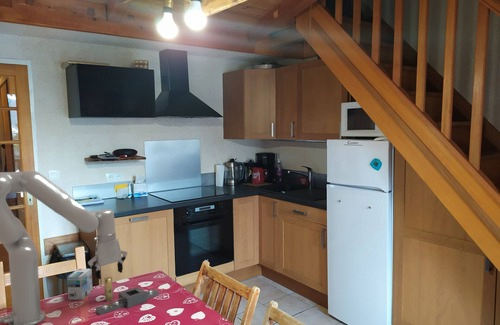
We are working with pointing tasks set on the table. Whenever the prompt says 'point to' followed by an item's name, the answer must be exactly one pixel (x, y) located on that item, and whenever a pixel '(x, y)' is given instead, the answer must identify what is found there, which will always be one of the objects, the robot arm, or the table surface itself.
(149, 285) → the table surface
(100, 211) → the robot arm
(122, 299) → the grey slotted base plate
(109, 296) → the brass pin
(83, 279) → the light bulb box
